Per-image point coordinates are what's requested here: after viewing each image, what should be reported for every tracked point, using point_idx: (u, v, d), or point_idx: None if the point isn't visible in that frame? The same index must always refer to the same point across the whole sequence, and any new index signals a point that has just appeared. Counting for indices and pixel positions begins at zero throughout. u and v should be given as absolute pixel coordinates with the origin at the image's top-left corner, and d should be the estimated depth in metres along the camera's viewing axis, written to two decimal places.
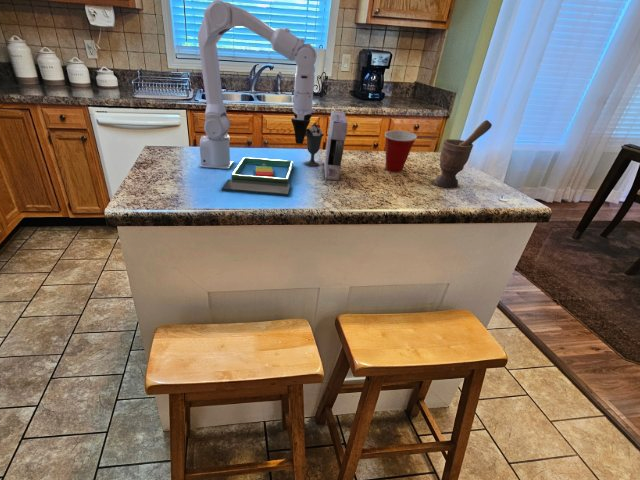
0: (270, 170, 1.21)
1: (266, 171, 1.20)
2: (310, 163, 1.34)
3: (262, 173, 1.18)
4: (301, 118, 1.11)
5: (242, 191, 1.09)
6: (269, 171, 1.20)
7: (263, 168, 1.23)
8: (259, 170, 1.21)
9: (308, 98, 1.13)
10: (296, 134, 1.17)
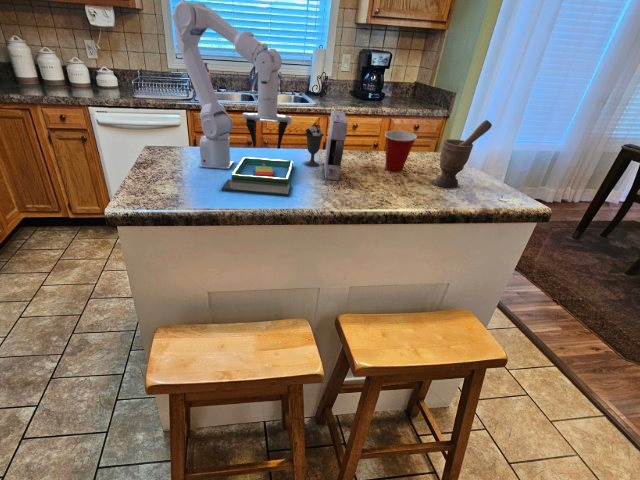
0: (270, 170, 1.21)
1: (266, 171, 1.20)
2: (310, 163, 1.34)
3: (262, 173, 1.18)
4: None
5: (242, 191, 1.09)
6: (269, 171, 1.20)
7: (263, 168, 1.23)
8: (259, 170, 1.21)
9: (259, 102, 1.11)
10: None
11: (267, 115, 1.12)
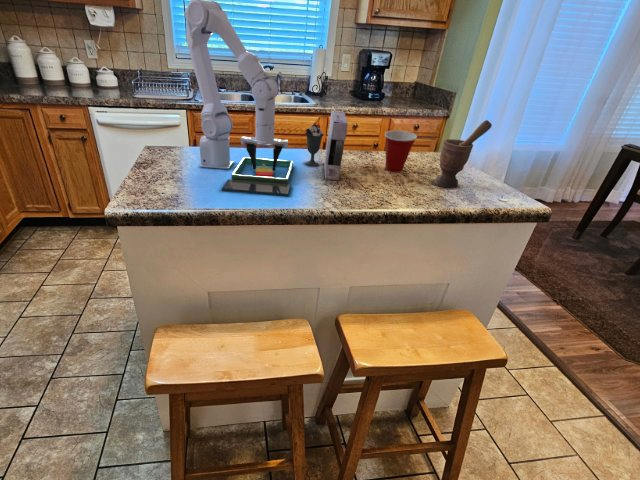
0: (270, 170, 1.21)
1: (266, 171, 1.20)
2: (310, 163, 1.34)
3: (262, 173, 1.18)
4: None
5: (242, 191, 1.09)
6: (269, 171, 1.20)
7: (263, 168, 1.23)
8: (259, 170, 1.21)
9: (257, 128, 1.15)
10: None
11: (264, 140, 1.16)
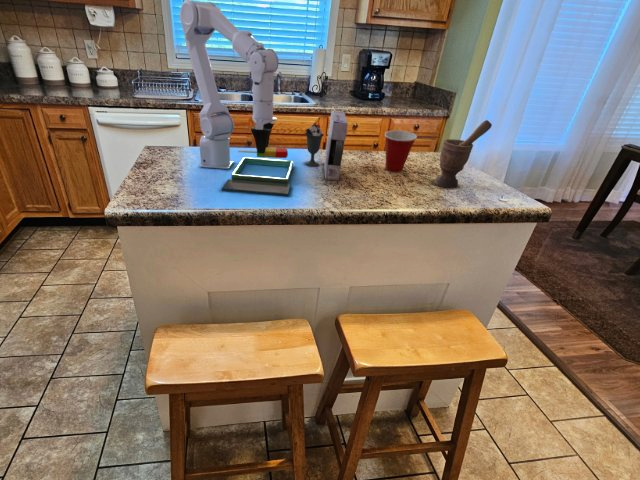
0: (271, 147, 1.17)
1: (275, 148, 1.16)
2: (310, 163, 1.34)
3: (282, 150, 1.15)
4: (260, 127, 1.05)
5: (242, 191, 1.09)
6: (276, 148, 1.17)
7: None
8: (272, 150, 1.14)
9: (268, 105, 1.06)
10: (257, 143, 1.11)
11: (272, 116, 1.10)
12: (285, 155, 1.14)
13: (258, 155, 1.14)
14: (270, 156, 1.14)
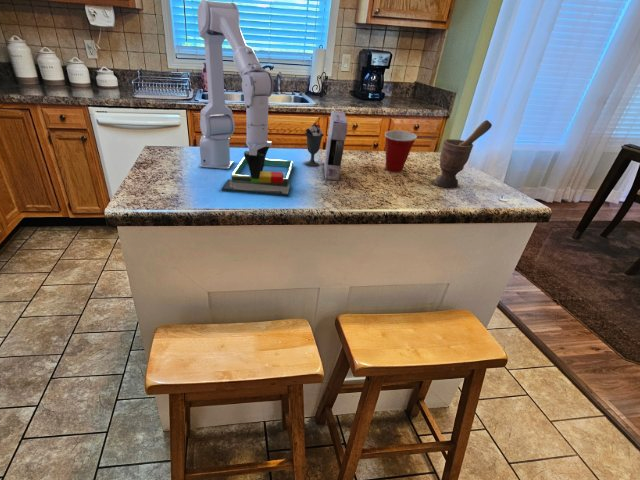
0: (266, 171, 1.11)
1: (270, 173, 1.10)
2: (310, 163, 1.34)
3: (278, 174, 1.09)
4: (253, 153, 0.99)
5: (242, 191, 1.09)
6: (271, 172, 1.11)
7: None
8: (267, 175, 1.08)
9: (262, 130, 1.01)
10: (251, 168, 1.05)
11: (267, 140, 1.04)
12: (281, 180, 1.08)
13: (252, 180, 1.08)
14: (265, 181, 1.08)
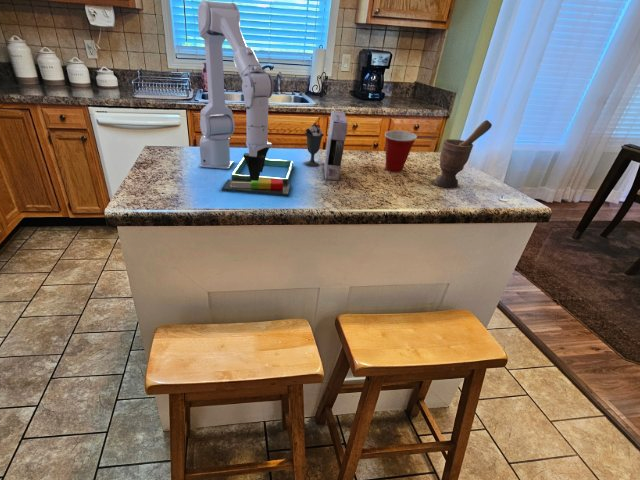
0: (266, 178, 1.12)
1: (270, 179, 1.11)
2: (310, 163, 1.34)
3: (277, 181, 1.10)
4: (253, 154, 0.99)
5: (242, 191, 1.09)
6: (271, 178, 1.12)
7: (259, 180, 1.10)
8: (267, 182, 1.09)
9: (262, 131, 1.01)
10: (250, 170, 1.05)
11: (267, 141, 1.04)
12: (280, 187, 1.09)
13: (252, 187, 1.09)
14: (265, 188, 1.09)
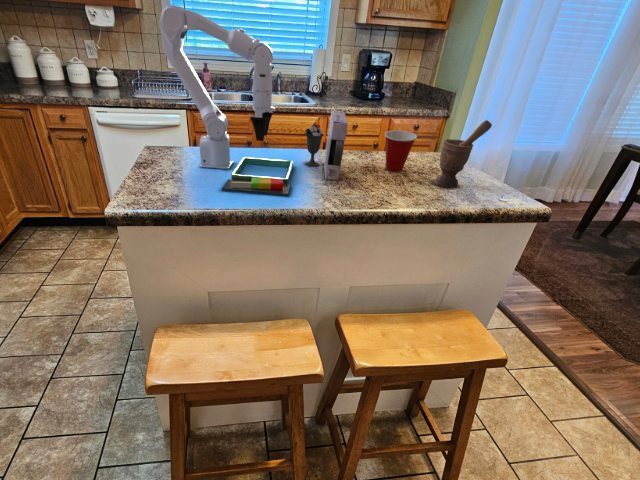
0: (266, 178, 1.12)
1: (270, 179, 1.11)
2: (310, 163, 1.34)
3: (277, 181, 1.10)
4: (259, 115, 1.14)
5: (242, 191, 1.09)
6: (271, 178, 1.12)
7: (259, 180, 1.10)
8: (267, 182, 1.09)
9: (266, 95, 1.15)
10: (256, 131, 1.19)
11: None
12: (280, 187, 1.09)
13: (252, 187, 1.09)
14: (265, 188, 1.09)
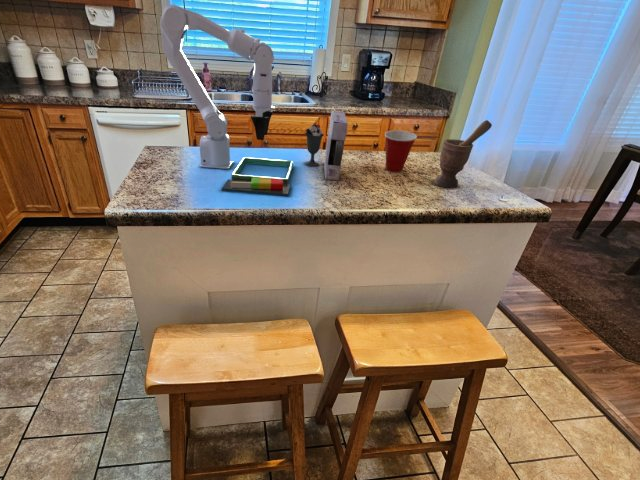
0: (266, 178, 1.12)
1: (270, 179, 1.11)
2: (310, 163, 1.34)
3: (277, 181, 1.10)
4: (259, 115, 1.15)
5: (242, 191, 1.09)
6: (271, 178, 1.12)
7: (259, 180, 1.10)
8: (267, 182, 1.09)
9: (267, 95, 1.16)
10: (256, 130, 1.20)
11: (271, 105, 1.20)
12: (280, 187, 1.09)
13: (252, 187, 1.09)
14: (265, 188, 1.09)
